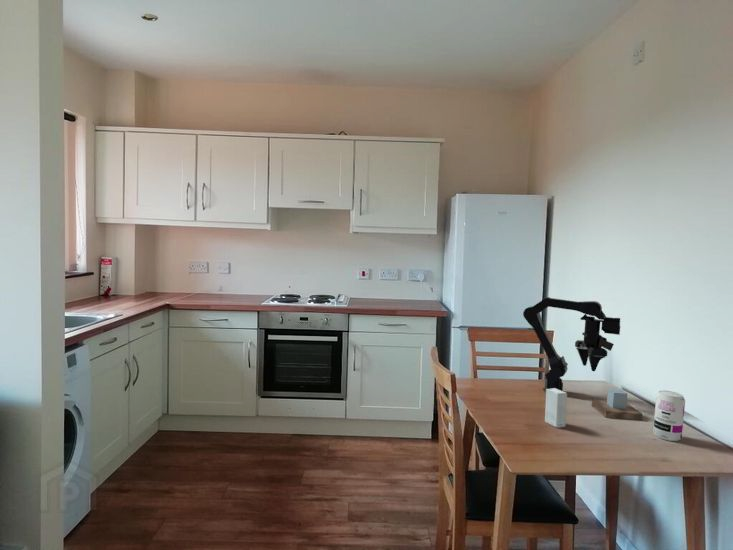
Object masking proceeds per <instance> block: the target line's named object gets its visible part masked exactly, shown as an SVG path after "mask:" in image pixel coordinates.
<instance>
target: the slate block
mask: <svg viewBox="0 0 733 550" xmlns="http://www.w3.org/2000/svg"><path fill="white" fill-rule="evenodd" d="M606 401H607V404H608V405H609V406H610V407H612V408H617V409H626V405H627V403H628V393H627V392H625V391H624V390H622V389H616V388H607V398H606Z"/></svg>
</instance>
